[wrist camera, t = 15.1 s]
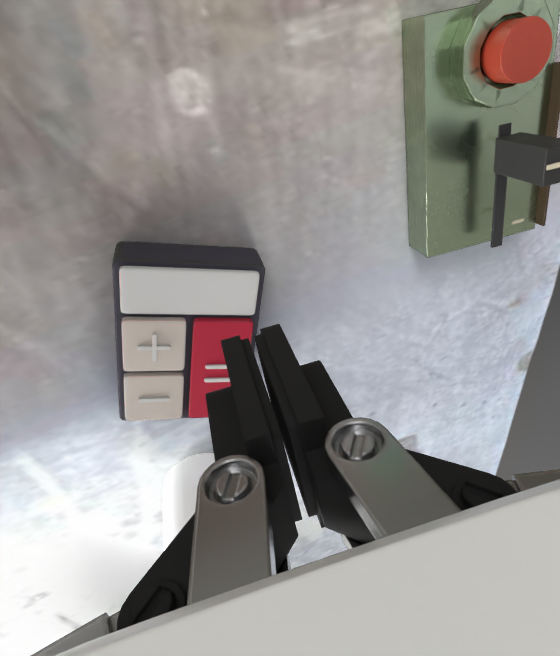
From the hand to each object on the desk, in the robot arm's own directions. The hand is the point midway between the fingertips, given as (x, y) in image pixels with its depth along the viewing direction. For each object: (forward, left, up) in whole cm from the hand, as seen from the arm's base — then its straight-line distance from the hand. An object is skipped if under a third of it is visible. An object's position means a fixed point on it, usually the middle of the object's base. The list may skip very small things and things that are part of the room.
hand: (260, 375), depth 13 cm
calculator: (+9, -8, -25) cm, 28 cm away
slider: (+10, +20, -20) cm, 29 cm away
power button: (+4, +22, -21) cm, 30 cm away
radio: (+9, +20, -25) cm, 33 cm away
